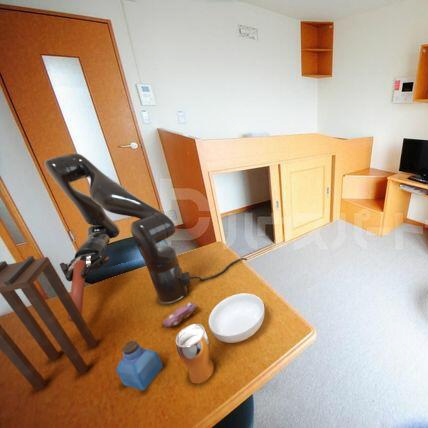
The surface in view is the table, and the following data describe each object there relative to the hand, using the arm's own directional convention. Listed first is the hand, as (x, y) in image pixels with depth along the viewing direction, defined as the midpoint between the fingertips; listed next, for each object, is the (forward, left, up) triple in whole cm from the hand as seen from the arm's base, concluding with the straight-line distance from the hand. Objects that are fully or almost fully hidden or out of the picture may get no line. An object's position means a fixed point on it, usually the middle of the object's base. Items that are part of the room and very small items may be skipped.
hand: (76, 277), depth 78 cm
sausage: (0, +2, -4) cm, 5 cm away
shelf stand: (0, +22, -14) cm, 26 cm away
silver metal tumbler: (-33, +41, -14) cm, 55 cm away
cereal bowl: (-45, +31, -14) cm, 57 cm away
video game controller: (-28, +19, -14) cm, 37 cm away
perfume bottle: (-19, +35, -14) cm, 43 cm away
